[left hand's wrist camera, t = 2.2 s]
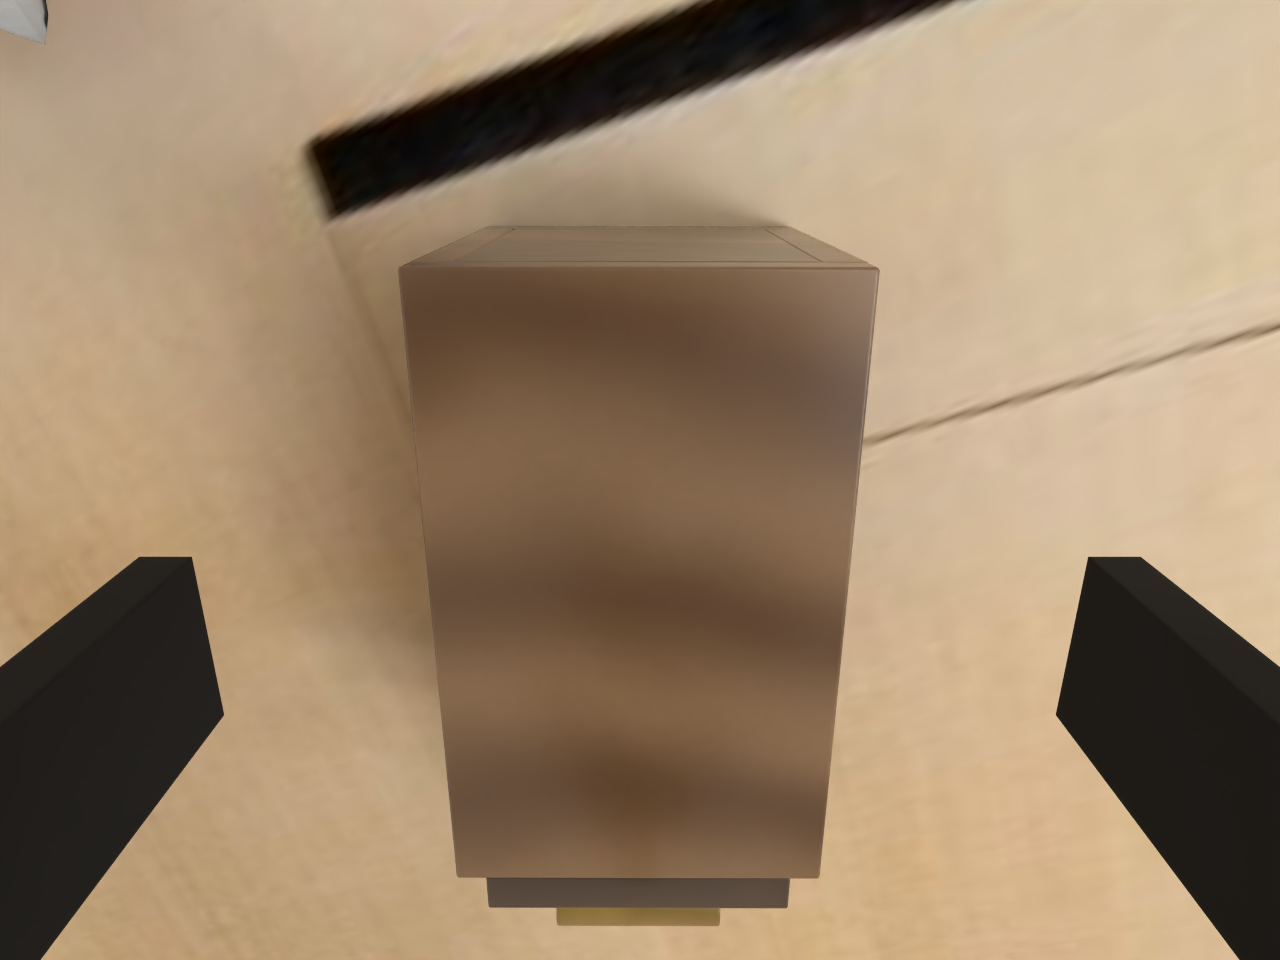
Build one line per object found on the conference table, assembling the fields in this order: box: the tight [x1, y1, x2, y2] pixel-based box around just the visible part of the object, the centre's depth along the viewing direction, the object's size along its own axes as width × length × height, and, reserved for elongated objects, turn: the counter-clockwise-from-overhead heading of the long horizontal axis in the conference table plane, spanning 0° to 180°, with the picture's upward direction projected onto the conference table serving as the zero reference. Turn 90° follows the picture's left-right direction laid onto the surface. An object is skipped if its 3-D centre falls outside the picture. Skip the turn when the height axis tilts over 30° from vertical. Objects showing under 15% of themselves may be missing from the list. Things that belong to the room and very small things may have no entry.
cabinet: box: [398, 226, 880, 878], centre depth 26 cm, size 17×10×11 cm, turn 0°
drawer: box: [486, 878, 790, 926], centre depth 28 cm, size 21×9×9 cm, turn 0°
